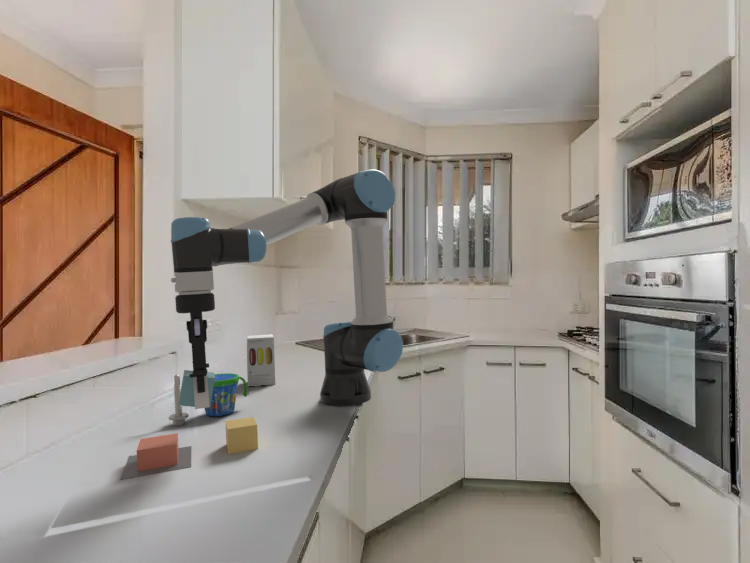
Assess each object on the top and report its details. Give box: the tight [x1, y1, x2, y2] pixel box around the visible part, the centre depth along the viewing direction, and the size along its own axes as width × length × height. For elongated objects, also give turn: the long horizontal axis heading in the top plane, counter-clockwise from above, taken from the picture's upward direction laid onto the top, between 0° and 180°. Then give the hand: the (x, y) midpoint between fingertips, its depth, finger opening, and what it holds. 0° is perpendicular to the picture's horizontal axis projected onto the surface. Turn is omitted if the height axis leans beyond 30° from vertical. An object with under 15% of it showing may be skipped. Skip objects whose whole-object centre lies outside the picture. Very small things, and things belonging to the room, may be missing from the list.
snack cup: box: [204, 372, 249, 417], centre depth 124 cm, size 16×10×10 cm
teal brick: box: [178, 369, 215, 408], centre depth 93 cm, size 6×6×6 cm
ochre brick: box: [225, 416, 259, 455], centre depth 97 cm, size 6×6×6 cm
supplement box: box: [246, 333, 276, 388], centre depth 159 cm, size 10×9×17 cm
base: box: [120, 432, 192, 481], centre depth 90 cm, size 12×12×5 cm
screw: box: [168, 374, 190, 427], centre depth 116 cm, size 13×5×5 cm
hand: (201, 403), depth 94 cm, fingers closed on teal brick, 6 cm apart
